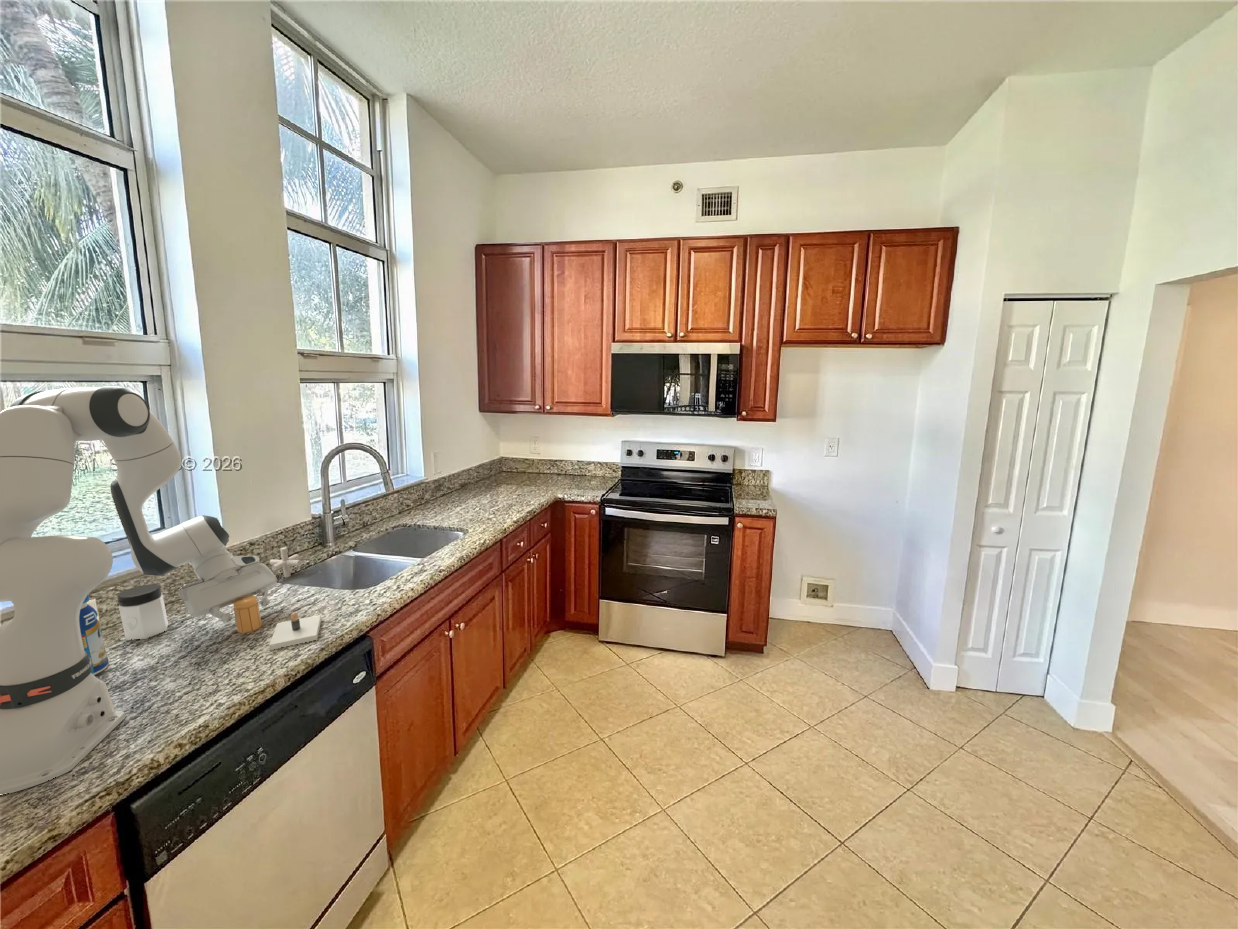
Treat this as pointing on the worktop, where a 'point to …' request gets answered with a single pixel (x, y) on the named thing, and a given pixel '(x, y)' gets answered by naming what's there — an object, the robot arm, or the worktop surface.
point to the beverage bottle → (92, 637)
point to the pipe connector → (285, 562)
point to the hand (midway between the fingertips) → (248, 612)
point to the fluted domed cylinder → (247, 614)
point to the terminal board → (295, 631)
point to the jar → (142, 611)
